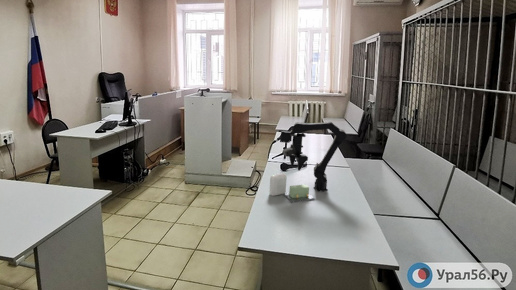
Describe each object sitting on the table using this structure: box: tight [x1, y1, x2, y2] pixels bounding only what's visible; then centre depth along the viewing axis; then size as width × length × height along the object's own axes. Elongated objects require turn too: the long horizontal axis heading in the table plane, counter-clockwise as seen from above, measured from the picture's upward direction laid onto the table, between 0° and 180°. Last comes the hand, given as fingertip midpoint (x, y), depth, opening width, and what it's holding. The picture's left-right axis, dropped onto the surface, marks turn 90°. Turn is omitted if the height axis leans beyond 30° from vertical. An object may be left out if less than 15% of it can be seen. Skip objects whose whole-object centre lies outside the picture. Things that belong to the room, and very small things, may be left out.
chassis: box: [283, 192, 315, 203], centre depth 187 cm, size 14×11×4 cm
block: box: [288, 184, 310, 198], centre depth 187 cm, size 10×4×6 cm, turn 110°
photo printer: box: [268, 172, 287, 197], centre depth 190 cm, size 10×4×12 cm, turn 123°
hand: (295, 168), depth 201 cm, fingers open, 9 cm apart
